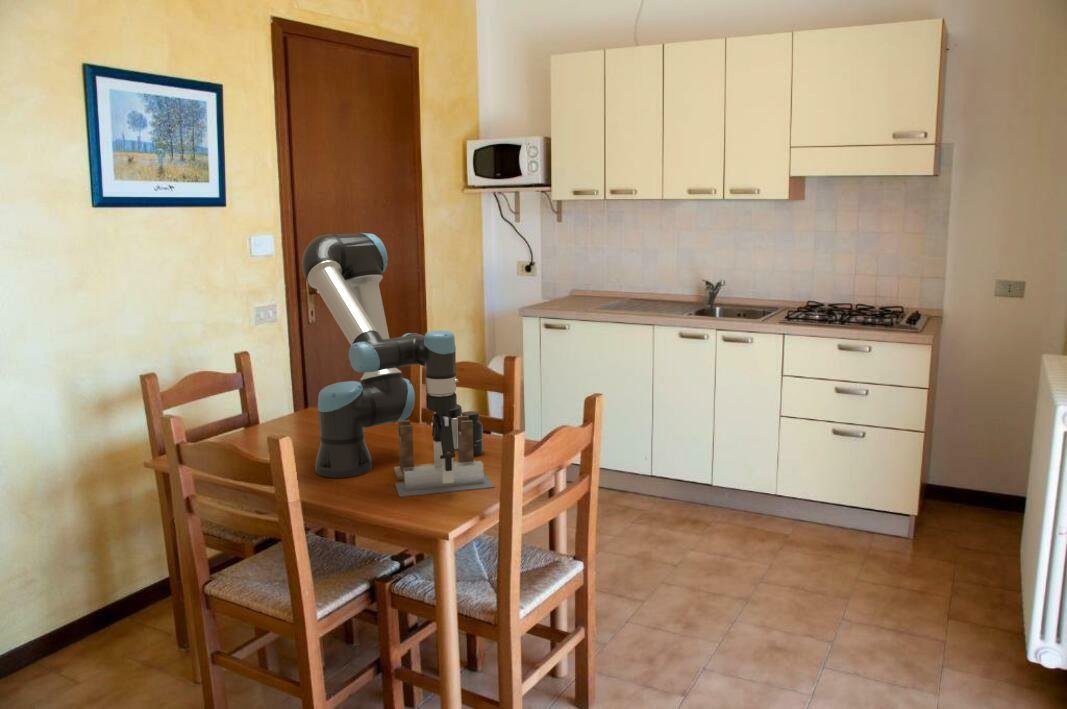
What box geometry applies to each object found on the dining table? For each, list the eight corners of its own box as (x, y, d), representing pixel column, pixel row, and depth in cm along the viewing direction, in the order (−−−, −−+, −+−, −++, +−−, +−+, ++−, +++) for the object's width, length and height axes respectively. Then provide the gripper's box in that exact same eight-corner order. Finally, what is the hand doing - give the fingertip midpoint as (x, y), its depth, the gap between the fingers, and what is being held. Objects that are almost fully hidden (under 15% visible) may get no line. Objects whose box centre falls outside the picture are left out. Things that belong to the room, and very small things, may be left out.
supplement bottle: (483, 456, 240) (482, 415, 238) (458, 457, 240) (457, 416, 237) (483, 449, 247) (482, 409, 244) (459, 450, 246) (458, 410, 244)
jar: (468, 446, 250) (467, 407, 247) (445, 452, 245) (444, 412, 242) (451, 440, 256) (450, 401, 254) (428, 445, 251) (427, 406, 249)
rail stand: (397, 479, 221) (395, 428, 219) (394, 470, 229) (392, 420, 226) (479, 472, 227) (478, 421, 224) (473, 463, 234) (472, 414, 232)
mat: (399, 497, 209) (399, 496, 209) (394, 484, 218) (394, 483, 218) (494, 487, 215) (494, 486, 215) (485, 475, 224) (485, 474, 224)
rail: (405, 490, 212) (405, 471, 211) (404, 486, 215) (403, 467, 214) (483, 482, 218) (483, 464, 217) (481, 479, 220) (480, 460, 219)
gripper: (465, 403, 201) (467, 488, 205) (447, 381, 225) (449, 457, 229) (434, 405, 199) (436, 491, 203) (419, 383, 223) (422, 460, 227)
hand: (443, 473), depth 216 cm, fingers open, 13 cm apart
